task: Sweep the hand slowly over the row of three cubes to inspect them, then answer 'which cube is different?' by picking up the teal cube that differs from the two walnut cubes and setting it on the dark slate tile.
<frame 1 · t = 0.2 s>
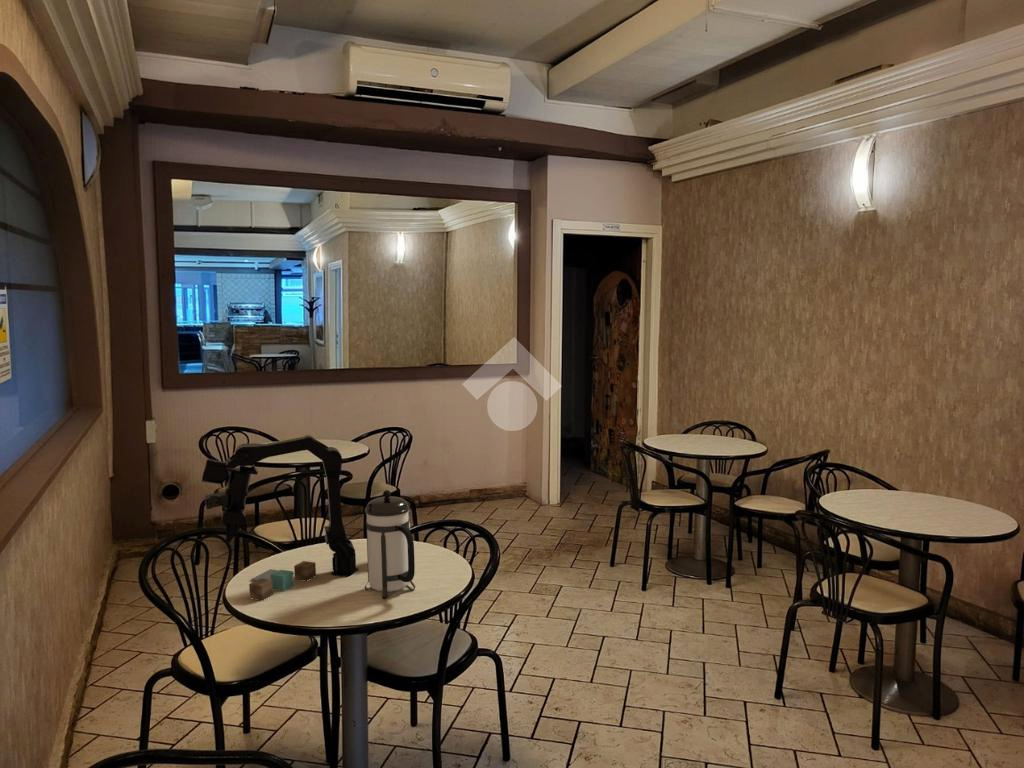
hand: (227, 537, 217), 15 cm above the table, tool pointing down, fingers open, 9 cm apart
walnut cube right: (305, 578, 225), on the table
coffee press: (393, 591, 214), on the table
teal cube: (282, 587, 218), on the table
walnut cube left: (261, 597, 211), on the table
soft serve ice cream cone: (398, 559, 241), on the table
slate tile: (272, 577, 226), on the table
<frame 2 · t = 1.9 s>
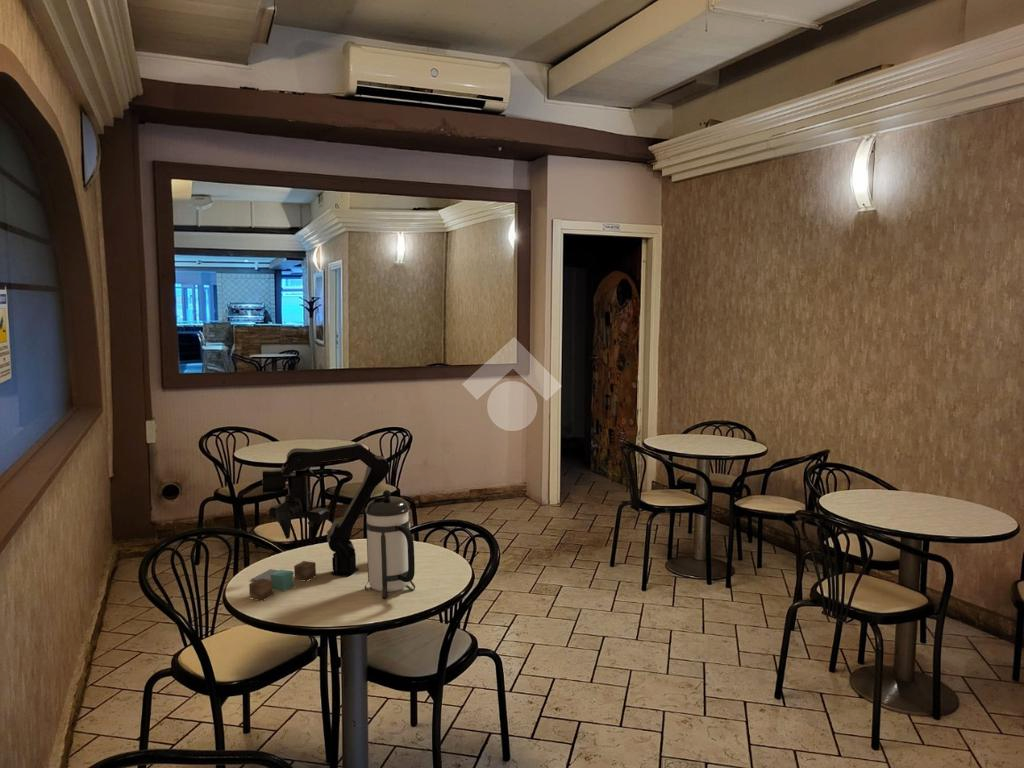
hand: (300, 540, 224), 12 cm above the table, tool pointing down, fingers open, 9 cm apart
nothing on the table moved.
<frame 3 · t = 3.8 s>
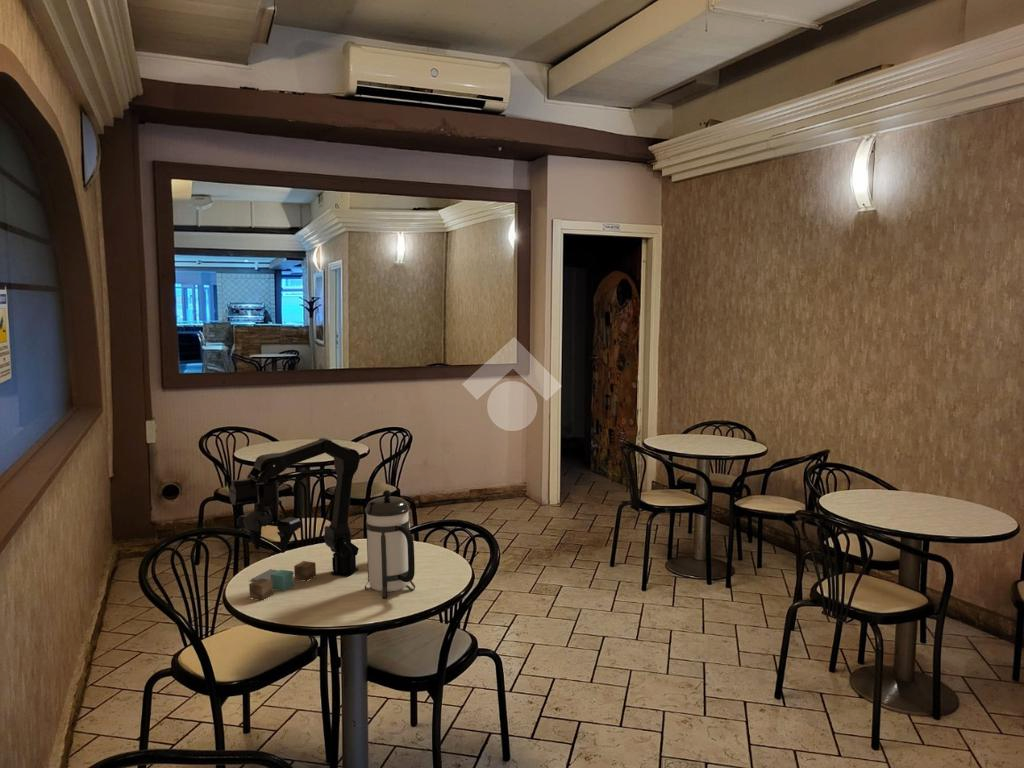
hand: (270, 550, 213), 12 cm above the table, tool pointing down, fingers open, 9 cm apart
nothing on the table moved.
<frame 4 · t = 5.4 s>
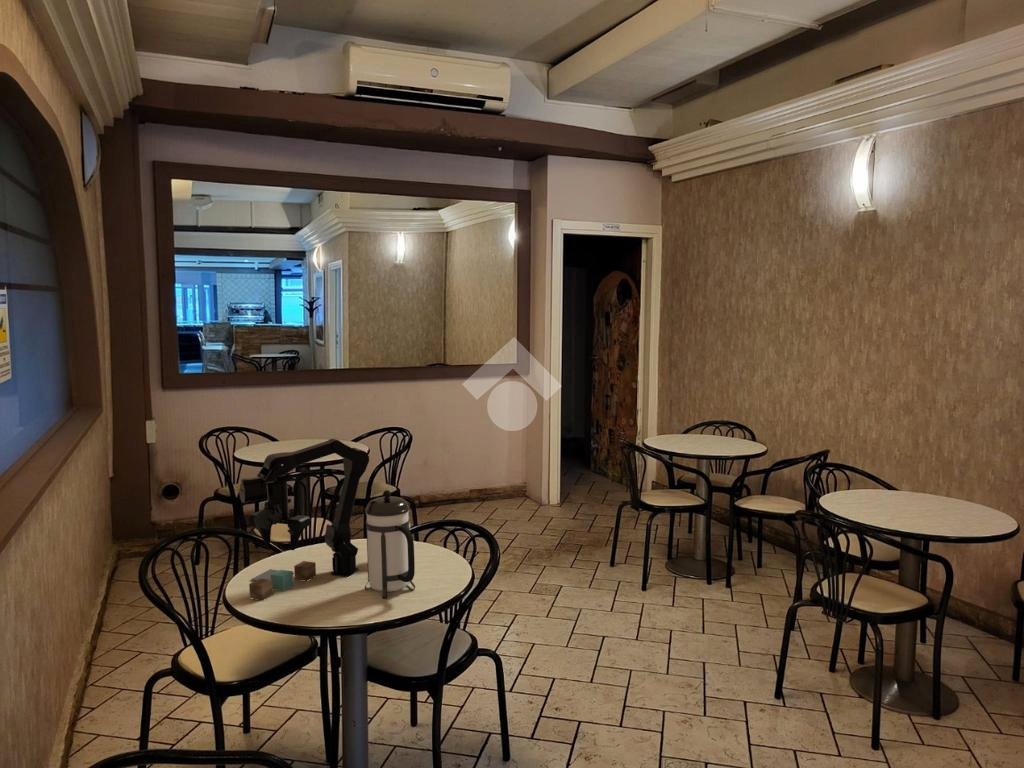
hand: (280, 548, 217), 12 cm above the table, tool pointing down, fingers open, 9 cm apart
nothing on the table moved.
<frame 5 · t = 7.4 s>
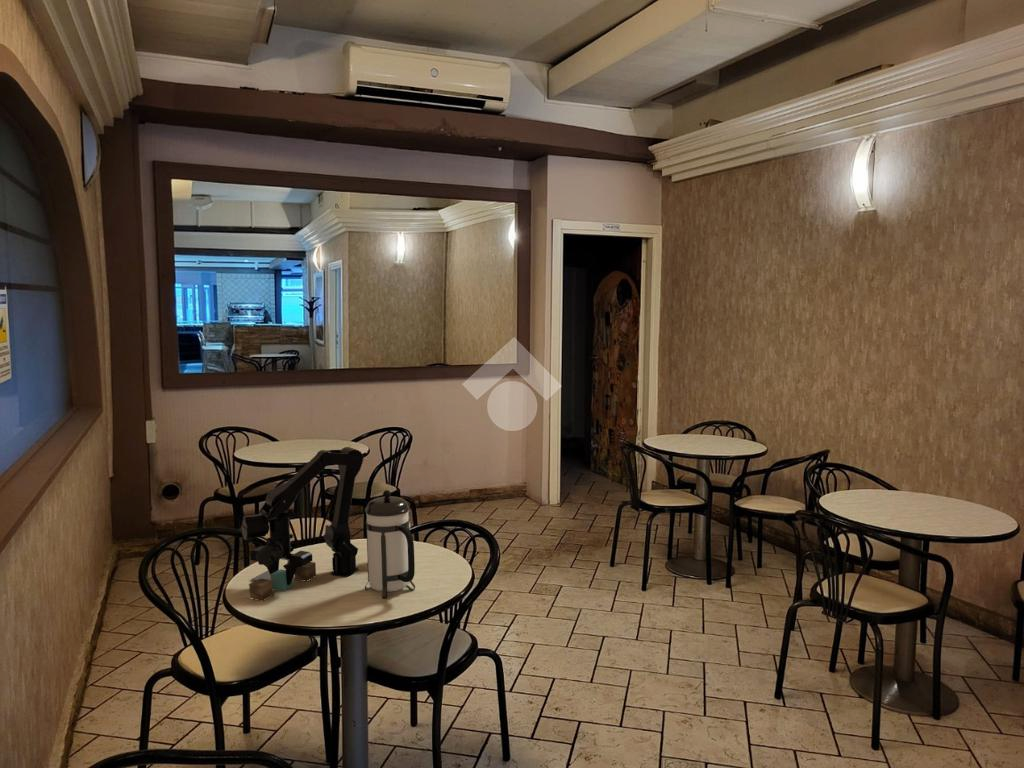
hand: (282, 583, 218), 1 cm above the table, tool pointing down, fingers closed on teal cube, 4 cm apart
teal cube: (282, 587, 218), on the table, touching gripper
everything else where it was.
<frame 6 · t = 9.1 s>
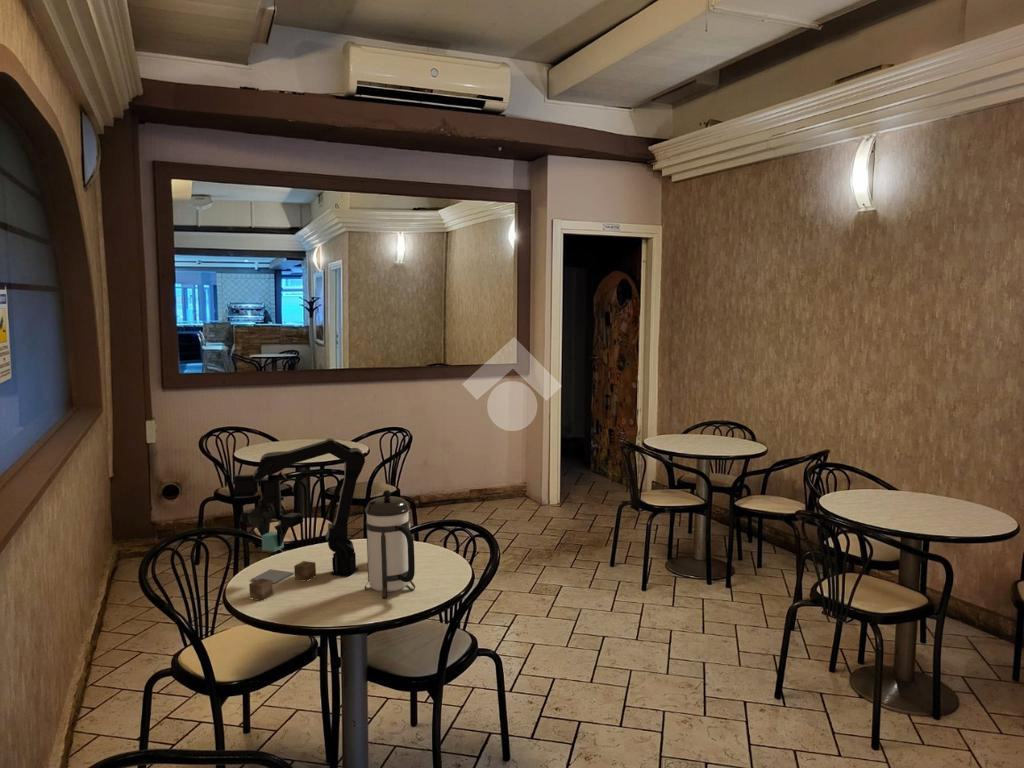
hand: (273, 545, 222), 11 cm above the table, tool pointing down, fingers closed on teal cube, 4 cm apart
teal cube: (273, 548, 222), point 10 cm above the table, touching gripper
everything else where it was.
when the fingers open (3 cm above the table, at t = 11.1 s): teal cube drops 1 cm, resting on slate tile.
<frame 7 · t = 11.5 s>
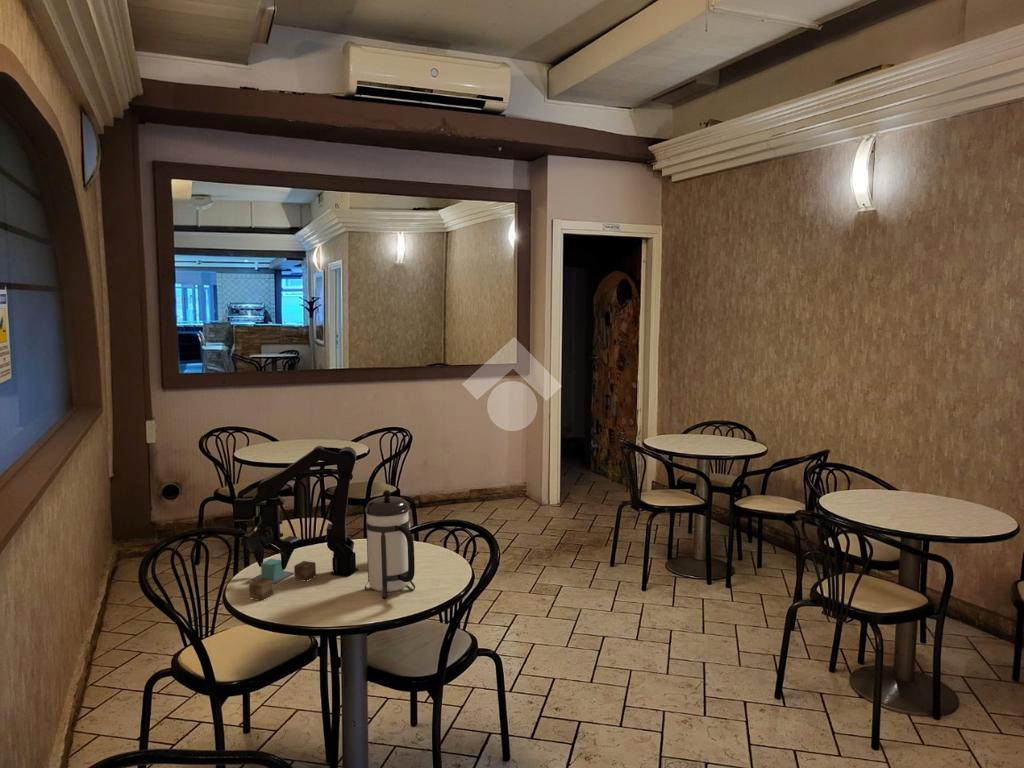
hand: (272, 568, 226), 3 cm above the table, tool pointing down, fingers open, 8 cm apart
teal cube: (272, 575, 226), resting on slate tile
everything else where it was.
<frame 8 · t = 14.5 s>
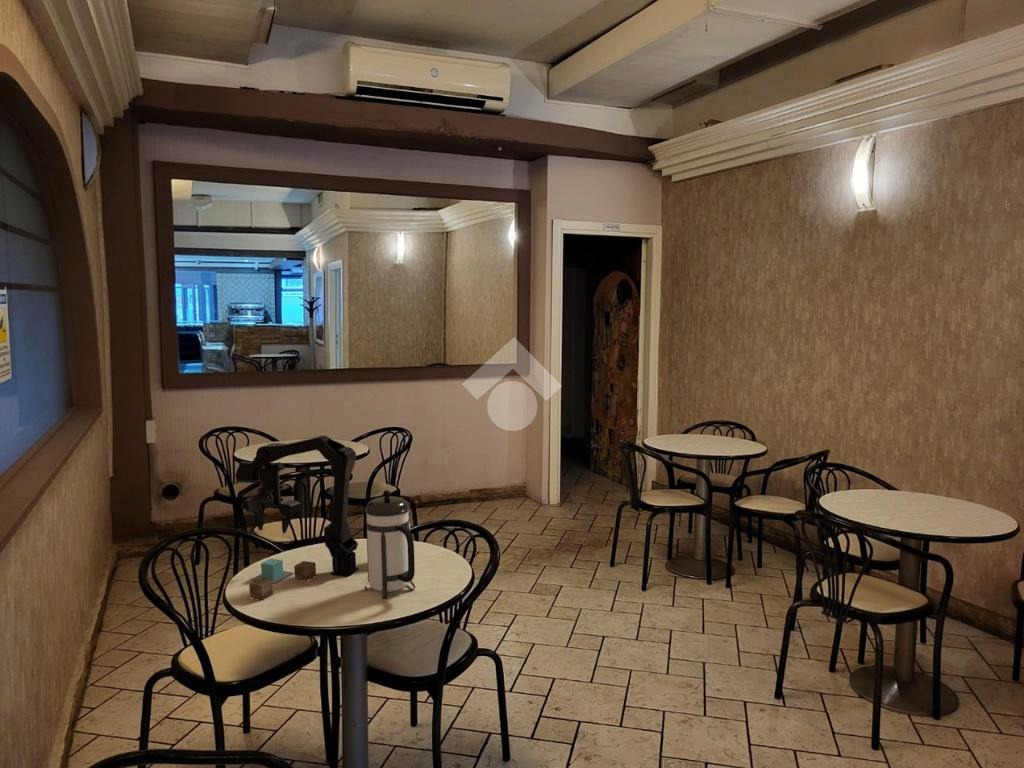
hand: (272, 531, 233), 12 cm above the table, tool pointing down, fingers open, 9 cm apart
nothing on the table moved.
at the end: teal cube inside the target area on the slate tile (0.0 cm from its centre), point 0.5 cm above the slate tile's base; teal cube tilted 0°; walnut cube right moved 0.1 cm from its start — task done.
